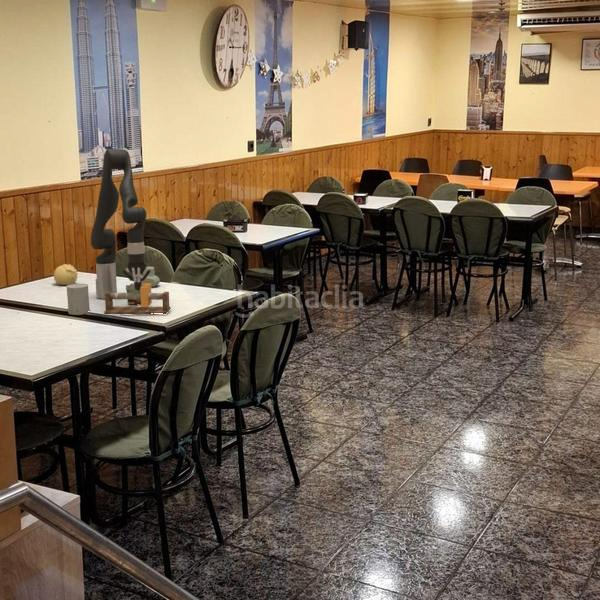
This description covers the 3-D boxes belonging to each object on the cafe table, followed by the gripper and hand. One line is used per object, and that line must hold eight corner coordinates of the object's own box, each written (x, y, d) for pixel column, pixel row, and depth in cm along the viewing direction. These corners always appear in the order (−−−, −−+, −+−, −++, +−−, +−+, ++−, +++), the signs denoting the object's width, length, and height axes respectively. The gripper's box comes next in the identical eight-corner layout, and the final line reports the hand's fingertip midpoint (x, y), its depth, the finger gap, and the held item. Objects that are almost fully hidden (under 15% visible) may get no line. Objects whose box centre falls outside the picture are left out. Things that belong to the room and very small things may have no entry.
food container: (139, 306, 400) (138, 285, 397) (126, 306, 401) (125, 285, 398) (148, 301, 411) (147, 280, 409) (136, 300, 413) (135, 280, 410)
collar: (141, 306, 384) (140, 287, 382) (145, 302, 392) (144, 283, 390) (147, 306, 384) (146, 287, 382) (151, 302, 392) (150, 283, 390)
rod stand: (104, 314, 385) (103, 295, 383) (110, 309, 395) (109, 290, 393) (166, 315, 384) (165, 295, 382) (170, 309, 393) (169, 290, 391)
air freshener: (161, 284, 447) (160, 265, 445) (158, 288, 439) (157, 269, 437) (140, 285, 447) (139, 266, 445) (137, 288, 439) (136, 269, 437)
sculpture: (78, 285, 446) (77, 265, 444) (54, 287, 443) (52, 266, 441) (78, 281, 457) (76, 261, 455) (54, 283, 454) (53, 262, 452)
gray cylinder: (63, 313, 388) (62, 287, 385) (76, 309, 397) (74, 282, 394) (82, 315, 385) (80, 288, 382) (94, 310, 393) (92, 284, 391)
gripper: (152, 250, 386) (154, 288, 390) (123, 250, 387) (125, 288, 391) (148, 253, 379) (150, 291, 383) (119, 253, 380) (121, 291, 384)
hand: (138, 290), depth 387 cm, fingers closed
